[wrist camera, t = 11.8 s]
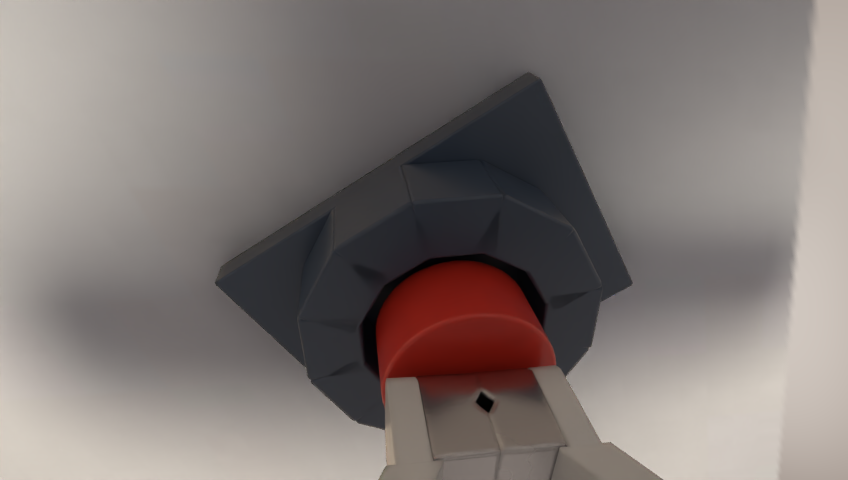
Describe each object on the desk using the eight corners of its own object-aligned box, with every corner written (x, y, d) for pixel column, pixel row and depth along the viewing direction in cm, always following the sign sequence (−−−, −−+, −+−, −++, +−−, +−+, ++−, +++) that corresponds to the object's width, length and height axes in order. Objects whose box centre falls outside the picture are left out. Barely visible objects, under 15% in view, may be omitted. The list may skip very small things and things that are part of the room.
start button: (484, 229, 9) (512, 282, 8) (549, 333, 11) (582, 394, 9) (343, 312, 10) (344, 377, 8) (425, 400, 11) (439, 468, 10)
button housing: (528, 68, 10) (580, 98, 8) (621, 270, 13) (676, 332, 11) (218, 264, 11) (189, 337, 9) (369, 408, 14) (374, 489, 12)
